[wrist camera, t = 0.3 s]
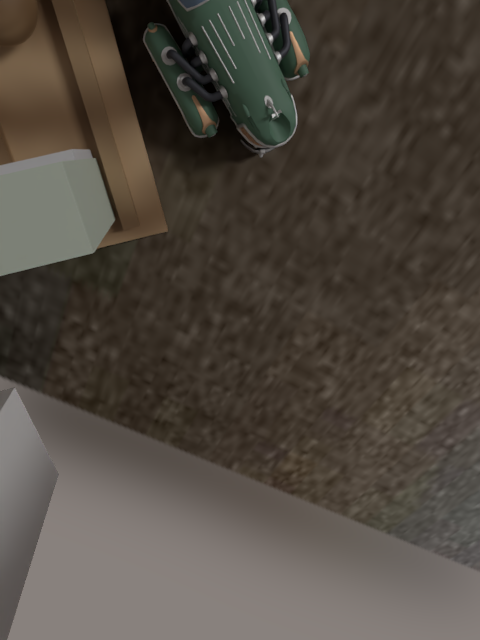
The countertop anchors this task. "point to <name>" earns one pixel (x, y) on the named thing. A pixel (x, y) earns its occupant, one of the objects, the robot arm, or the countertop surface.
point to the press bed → (79, 109)
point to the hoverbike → (233, 66)
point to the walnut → (17, 21)
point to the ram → (51, 209)
